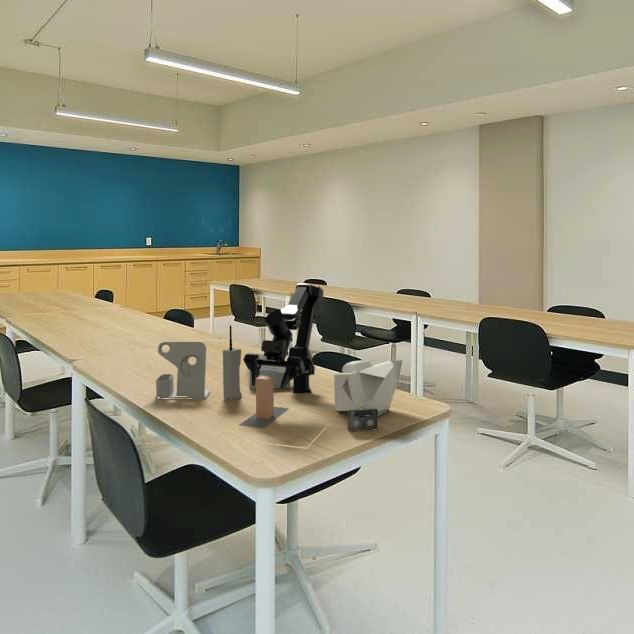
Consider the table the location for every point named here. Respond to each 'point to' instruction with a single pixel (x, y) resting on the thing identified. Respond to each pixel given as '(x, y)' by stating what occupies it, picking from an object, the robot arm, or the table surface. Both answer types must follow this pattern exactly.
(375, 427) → the mini dv tape
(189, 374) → the phone holder
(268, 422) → the charcoal mat
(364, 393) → the folded paper
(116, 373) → the table surface
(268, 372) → the warehouse
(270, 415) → the terracotta block
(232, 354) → the vintage mobile phone
